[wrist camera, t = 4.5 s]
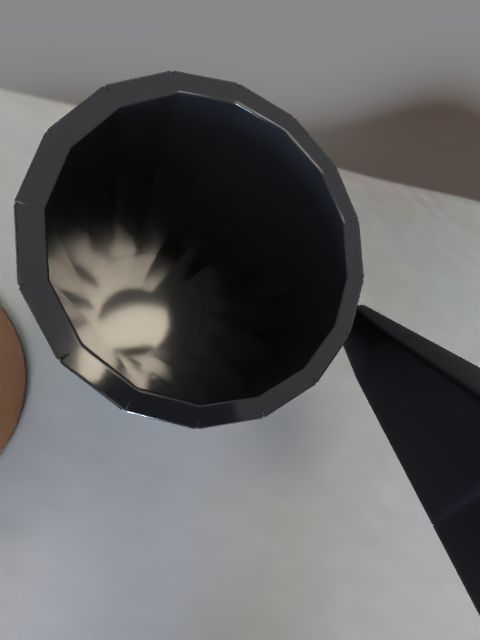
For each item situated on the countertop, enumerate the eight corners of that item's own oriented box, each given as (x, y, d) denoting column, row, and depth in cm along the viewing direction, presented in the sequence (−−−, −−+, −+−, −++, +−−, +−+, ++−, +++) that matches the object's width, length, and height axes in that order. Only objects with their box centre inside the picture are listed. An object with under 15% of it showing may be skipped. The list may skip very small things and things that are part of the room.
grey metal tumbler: (153, 395, 17) (237, 499, 6) (51, 313, 16) (-99, 241, 4) (229, 305, 19) (409, 249, 7) (142, 223, 17) (201, 6, 6)
